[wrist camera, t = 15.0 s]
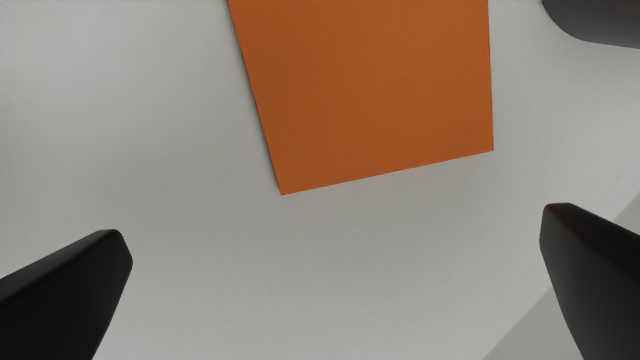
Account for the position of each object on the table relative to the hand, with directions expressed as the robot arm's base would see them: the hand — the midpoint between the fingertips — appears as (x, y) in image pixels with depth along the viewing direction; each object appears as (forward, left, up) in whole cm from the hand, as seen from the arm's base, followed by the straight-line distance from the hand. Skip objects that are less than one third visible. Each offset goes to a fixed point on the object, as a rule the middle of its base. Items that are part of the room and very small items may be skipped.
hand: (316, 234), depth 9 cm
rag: (+1, +4, -10) cm, 11 cm away
